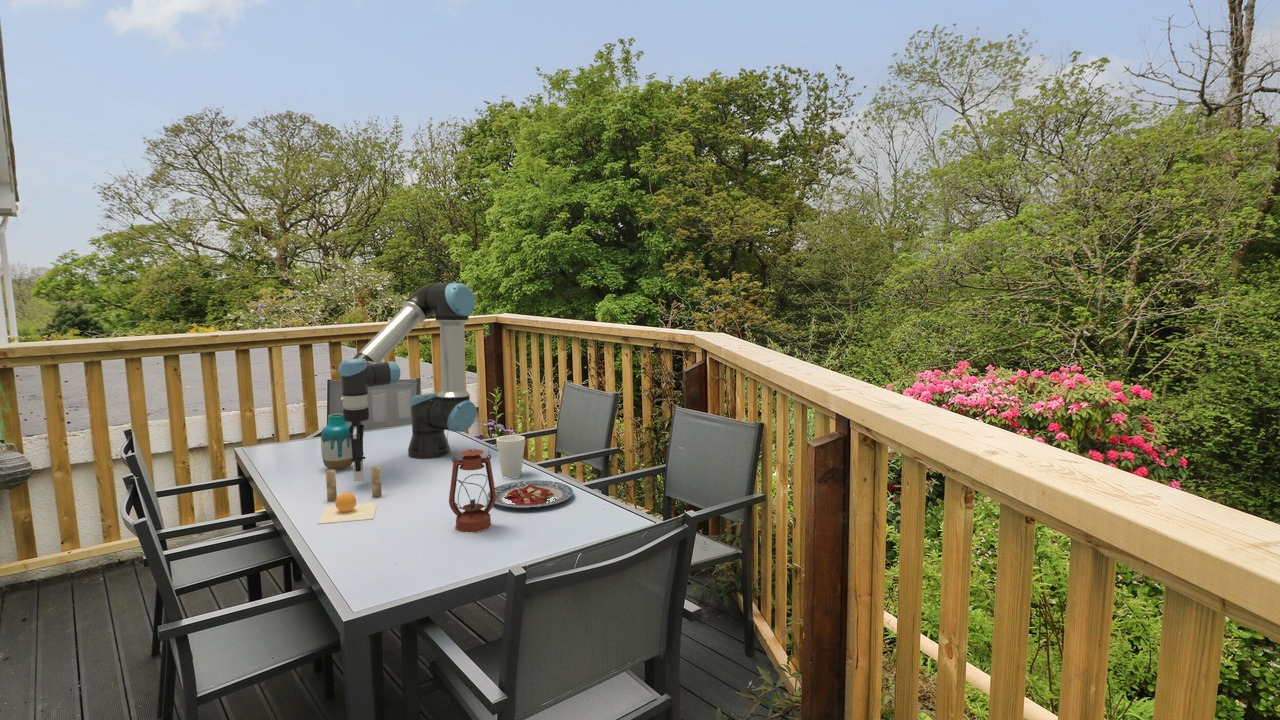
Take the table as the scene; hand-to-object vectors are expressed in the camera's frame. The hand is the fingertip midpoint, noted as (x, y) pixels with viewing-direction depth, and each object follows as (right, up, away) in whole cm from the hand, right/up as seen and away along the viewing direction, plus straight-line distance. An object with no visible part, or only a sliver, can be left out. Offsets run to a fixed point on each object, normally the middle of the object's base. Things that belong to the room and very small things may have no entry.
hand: (359, 480), depth 218 cm
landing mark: (+8, -5, -26) cm, 27 cm away
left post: (-2, -4, -14) cm, 15 cm away
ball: (+6, -2, -24) cm, 25 cm away
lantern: (+45, -6, -35) cm, 57 cm away
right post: (+10, -3, -10) cm, 15 cm away
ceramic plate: (+57, -4, -12) cm, 58 cm away
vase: (-15, 0, +20) cm, 25 cm away
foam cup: (+47, -1, +12) cm, 48 cm away
